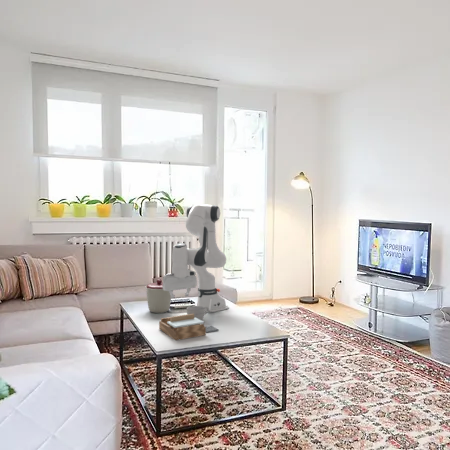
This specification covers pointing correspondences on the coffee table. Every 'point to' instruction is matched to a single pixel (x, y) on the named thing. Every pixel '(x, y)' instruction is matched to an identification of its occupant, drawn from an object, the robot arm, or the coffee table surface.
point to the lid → (184, 320)
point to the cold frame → (181, 330)
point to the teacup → (197, 311)
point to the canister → (158, 297)
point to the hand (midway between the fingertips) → (179, 297)
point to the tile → (211, 329)
